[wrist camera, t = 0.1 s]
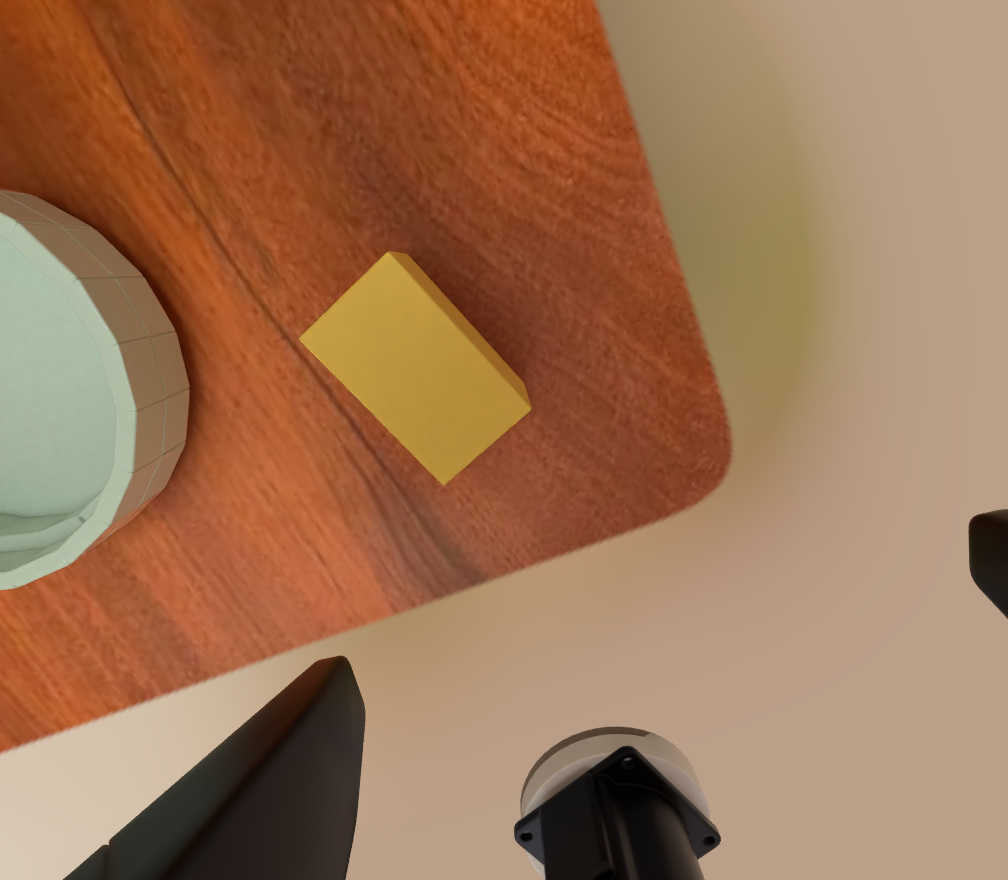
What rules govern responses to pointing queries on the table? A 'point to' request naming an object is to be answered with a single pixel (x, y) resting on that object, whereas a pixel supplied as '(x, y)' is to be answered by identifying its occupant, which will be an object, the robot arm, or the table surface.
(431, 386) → the sponge
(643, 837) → the robot arm
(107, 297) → the bowl
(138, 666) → the table surface
